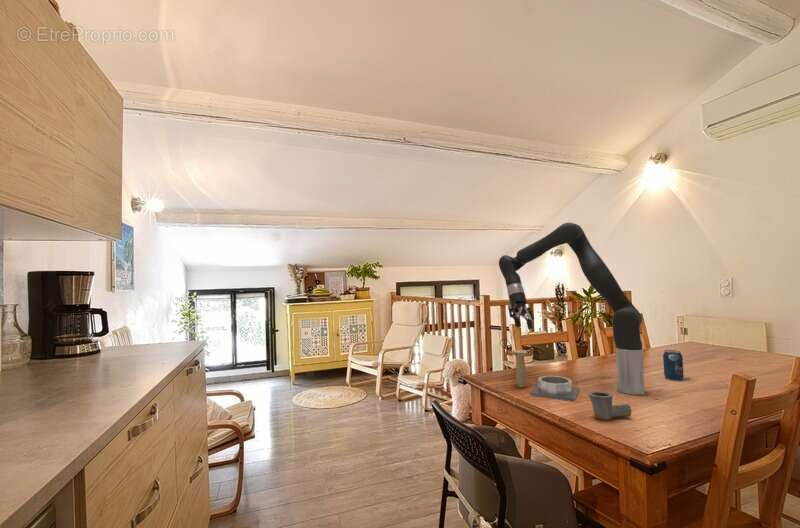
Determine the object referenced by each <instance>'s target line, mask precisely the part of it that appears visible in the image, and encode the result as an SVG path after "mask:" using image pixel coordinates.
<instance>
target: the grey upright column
mask: <svg viewBox="0 0 800 528" xmlns="http://www.w3.org/2000/svg"><path fill="white" fill-rule="evenodd" d="M511 352H512V353H511V354H512V355H513V356H515V380H516V385H517V386H516V387H518V388H525V387H526V377H527V376H526V364H525V357H527V356H528V355H529V354H528V351H527V350H521V349H513V350H511Z"/></svg>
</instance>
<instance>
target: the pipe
mask: <svg viewBox="0 0 800 528" xmlns="http://www.w3.org/2000/svg"><path fill="white" fill-rule="evenodd" d="M587 395H588V398H589V399H590V403H591V404H592V410H593V417H594V418H596V419H597V420H604V421H605V420H606V421H607V420H611V418H612V419H613V418H614V419H615V418H624V417H631V415H632V408H631V406H630V405H629V404H627V403H625V404H624V403H623V404H616V405H613V395H612V393H608V392H604V391H591V392H589V393H588V394H587Z"/></svg>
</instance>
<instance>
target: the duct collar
mask: <svg viewBox="0 0 800 528" xmlns="http://www.w3.org/2000/svg"><path fill="white" fill-rule="evenodd" d="M578 391H580V386H573V380H571V379H570V378H569V377H568V378H567V377H565V376H559V375H558V376H557V375H543V376H539V377H538V378H537V384H536V385H535V386H534V387H533V389H531V391H530V393H529V395H530V396H531V395H533V397H534V396H535V397H539V396H540V398H546V397H547V398H548V399H552V400H553V399H554V400H555V399H556V400H561V399H563V400H562V401H568V400H570V402H575V401H574V400H576V398H577V396H578V394H579V392H578ZM547 398H546V399H547Z"/></svg>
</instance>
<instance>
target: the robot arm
mask: <svg viewBox="0 0 800 528" xmlns="http://www.w3.org/2000/svg"><path fill="white" fill-rule="evenodd" d="M565 244H567V245H568V246H569V247H570V249H571V250H572V251H573V252H574V254H575V256H576V257H577V259H578V262H579V266H580V268H581V271H582V273H583V275H584V276H585V278H586V280H587V281H588V282H589V284H590V286H591V287H592V288H593V289H594V290H595V291H596V292H597V293H598V294H599V295H600V296H601V297H602V298H603V299H604V300H605V302H606V303H607V304H608V305H609V308H610V309H611V310H612V313H613V316H612V332H613V333H612V335H613V341H614V345H615V347H614V348H615V364H616V381H617V384H616V385H617V391H618V392H620V393H623V394H627V395H635V396H637V395H646V393H645V392H646V391H645V372H644V357H643V353H644V352H643V342H642V339H641V325H642V323H643V318H642V317H643V316H642V314H641V312H640V311H639V310H638V309H637V308H636V307H635V305H634V304H633V303H632V302H631V301H630V300H629V298H628V297H627V296H626V294H625V293H624V292H623V290H622V288H621V287H620V285H619V283H618V281H617V280H616V278H615V277H614V275H613V273H612V271H611V270H610V268H609V267H608V266H607V265H606V263H605V262H604V261H603V259H602V257H601V256H600V255H599V254H598V253H597V252H596V250H595V249H594V248H593V246H592V245H591V243H590V241H589V239H588V237H587V236H586V233H585V231H584V230H583V228H582V227H581V226H580V225H579V224H578V223H573V222H565V223H563V224H561V225H559V226H558V227H557V228H556V229H554V230H552V231H551V232H550V233H549V234H547V235H546V236H544V237H542V238H540V239H539V240H537V241H535V242H533V243H531V244H528V245H527V246H525V247H523V248H521V249H520V250H518V251H517V252H516V256H514V257H512V256H510V255H507V254H505V255H502V256H501V257H500V258H499V259H498V268H499V270H500V272H501V274H502V277H503V278H504V281H505V284H506V285H505V286H506V292H507V296H508V301H509V305H507V307H508V308H507V309H508V314H509V317H510V318H511V319H513V320H514V325H515V327H516V328H521V326H522V325H521V320H520V318H519V317H522V318H523V319H524V320H525V321H526V327H527V329H528V330H532V329H534V326H533V320H535V317H534V313H533V311H532V310H533V309H532V308H531V307H527V303H528V301H527V297H526V293H525V289H524V286H523V284H522V280H521V276H520V274H518V272H517V271H519V270H520V269H521V268H523V267H524V266H525V265H526V264H527V263H530V262H533V261H534V260H536V259H538V258H540V257H542V256H543V255H545V254H546V253H547V252H548V251H550V250H551V249H554V248H556V247H558V246H562V245H565Z"/></svg>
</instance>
